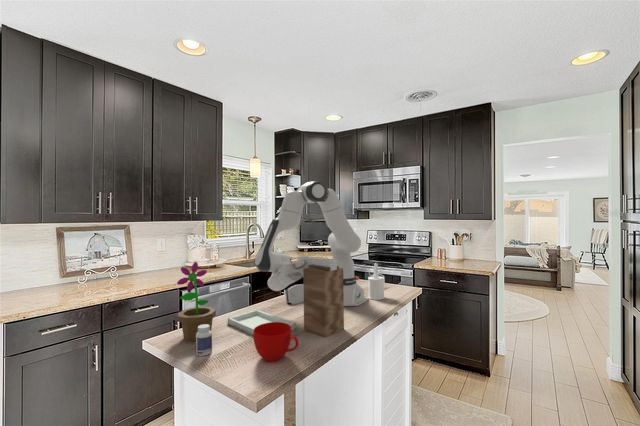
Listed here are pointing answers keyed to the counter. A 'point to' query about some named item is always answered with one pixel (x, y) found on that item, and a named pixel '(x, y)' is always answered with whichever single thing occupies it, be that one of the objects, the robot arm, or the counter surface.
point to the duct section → (318, 262)
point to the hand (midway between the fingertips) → (308, 260)
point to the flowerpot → (197, 314)
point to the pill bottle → (203, 340)
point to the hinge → (295, 294)
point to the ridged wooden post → (323, 300)
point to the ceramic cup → (273, 340)
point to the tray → (255, 321)
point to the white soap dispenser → (376, 285)
